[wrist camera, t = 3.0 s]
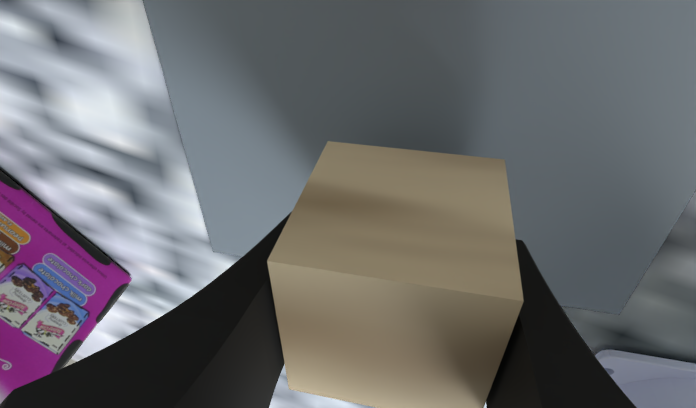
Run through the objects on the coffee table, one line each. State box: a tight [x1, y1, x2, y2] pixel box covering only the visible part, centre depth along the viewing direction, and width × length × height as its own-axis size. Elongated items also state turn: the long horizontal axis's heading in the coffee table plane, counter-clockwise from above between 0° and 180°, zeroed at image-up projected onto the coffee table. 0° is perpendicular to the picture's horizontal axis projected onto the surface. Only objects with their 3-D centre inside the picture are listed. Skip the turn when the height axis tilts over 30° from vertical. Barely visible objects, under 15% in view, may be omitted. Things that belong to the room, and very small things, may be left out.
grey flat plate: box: [143, 0, 696, 315], centre depth 11 cm, size 20×16×1 cm
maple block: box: [267, 141, 524, 408], centre depth 11 cm, size 4×4×4 cm
